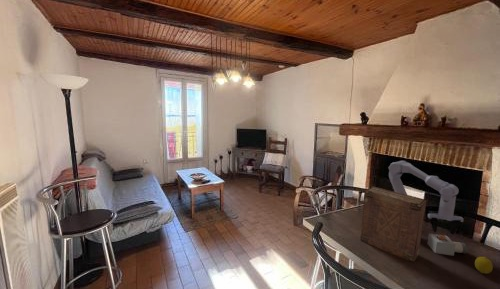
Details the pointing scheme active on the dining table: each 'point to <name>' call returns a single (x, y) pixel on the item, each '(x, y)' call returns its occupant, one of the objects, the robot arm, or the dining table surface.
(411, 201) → the book
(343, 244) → the dining table surface
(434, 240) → the housing
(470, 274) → the dining table surface
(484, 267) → the lemon
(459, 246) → the block
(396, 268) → the dining table surface
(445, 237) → the plunger
